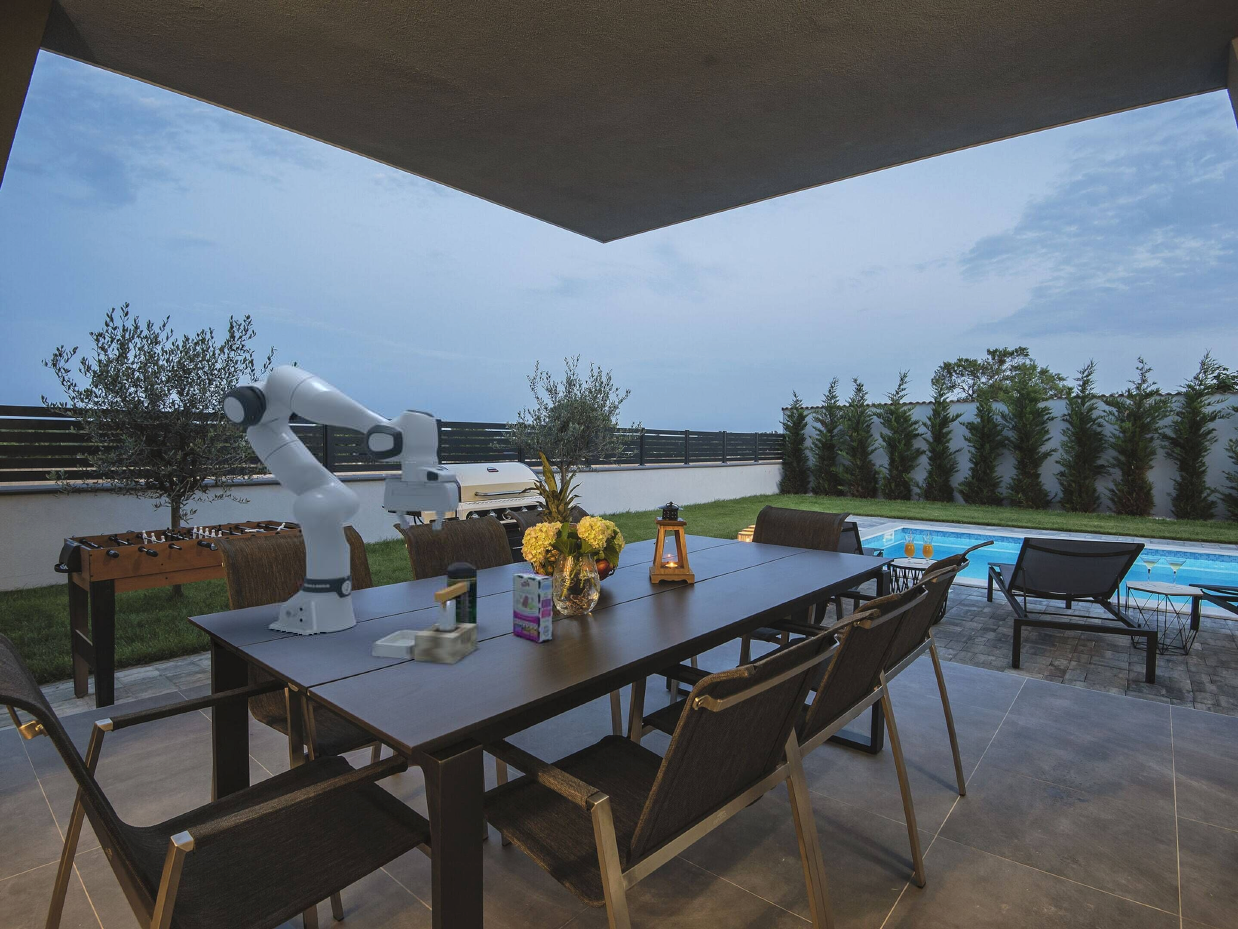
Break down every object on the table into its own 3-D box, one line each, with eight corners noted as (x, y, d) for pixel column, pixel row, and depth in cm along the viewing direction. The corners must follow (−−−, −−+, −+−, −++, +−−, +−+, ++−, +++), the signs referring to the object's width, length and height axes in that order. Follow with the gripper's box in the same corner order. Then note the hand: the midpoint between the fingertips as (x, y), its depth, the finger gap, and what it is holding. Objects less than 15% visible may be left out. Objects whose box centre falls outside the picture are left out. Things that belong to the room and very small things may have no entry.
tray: (372, 656, 146) (372, 643, 145) (401, 641, 157) (401, 629, 157) (409, 659, 143) (409, 646, 143) (436, 644, 155) (436, 632, 155)
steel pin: (435, 656, 146) (435, 601, 145) (443, 651, 150) (443, 598, 149) (450, 657, 145) (450, 602, 145) (458, 652, 149) (458, 598, 148)
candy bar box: (554, 639, 159) (554, 576, 159) (539, 643, 156) (539, 579, 155) (527, 631, 167) (527, 571, 167) (512, 635, 163) (512, 573, 163)
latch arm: (433, 601, 143) (433, 593, 143) (462, 589, 157) (462, 581, 157) (443, 602, 143) (443, 593, 143) (471, 589, 157) (471, 581, 157)
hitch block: (414, 660, 142) (414, 603, 142) (450, 639, 159) (450, 588, 159) (453, 663, 140) (453, 606, 140) (486, 642, 157) (486, 590, 157)
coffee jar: (479, 634, 164) (479, 565, 164) (448, 637, 161) (448, 566, 161) (474, 625, 173) (474, 559, 173) (445, 627, 170) (445, 561, 170)
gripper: (377, 474, 155) (378, 529, 155) (447, 474, 148) (448, 531, 148) (393, 474, 161) (394, 526, 161) (461, 473, 154) (462, 528, 154)
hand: (420, 529), depth 154 cm, fingers open, 8 cm apart
